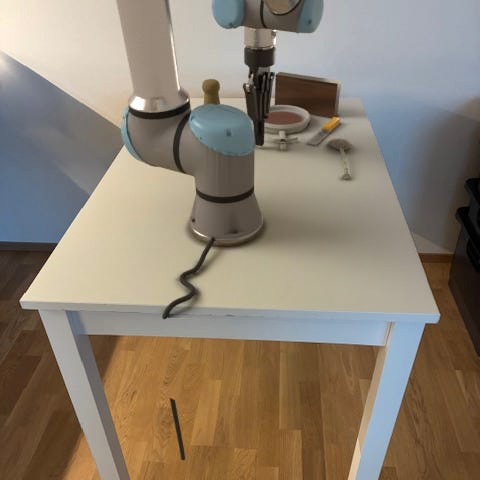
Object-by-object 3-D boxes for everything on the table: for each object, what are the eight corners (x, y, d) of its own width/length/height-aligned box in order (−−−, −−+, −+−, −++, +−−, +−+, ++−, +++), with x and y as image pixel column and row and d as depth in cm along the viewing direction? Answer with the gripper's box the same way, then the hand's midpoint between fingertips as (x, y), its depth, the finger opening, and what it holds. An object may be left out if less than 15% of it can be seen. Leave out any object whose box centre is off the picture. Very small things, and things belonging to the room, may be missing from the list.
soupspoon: (350, 145, 133) (326, 146, 134) (351, 133, 131) (326, 133, 132) (359, 179, 116) (331, 180, 117) (360, 166, 114) (332, 167, 115)
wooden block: (333, 118, 146) (337, 83, 140) (274, 107, 154) (275, 74, 147) (337, 115, 148) (341, 80, 142) (278, 104, 156) (279, 71, 149)
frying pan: (251, 142, 128) (253, 103, 148) (251, 153, 130) (253, 113, 150) (315, 142, 127) (309, 103, 148) (314, 153, 129) (308, 113, 150)
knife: (316, 145, 132) (317, 139, 131) (308, 144, 133) (308, 138, 132) (340, 123, 143) (340, 118, 142) (332, 122, 144) (333, 116, 143)
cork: (213, 113, 151) (211, 75, 143) (226, 118, 147) (225, 79, 140) (198, 118, 148) (196, 80, 140) (211, 124, 144) (209, 84, 137)
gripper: (261, 54, 109) (259, 156, 125) (286, 41, 117) (281, 138, 133) (232, 50, 112) (234, 150, 127) (258, 38, 120) (257, 133, 136)
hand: (258, 144), depth 130 cm, fingers closed
